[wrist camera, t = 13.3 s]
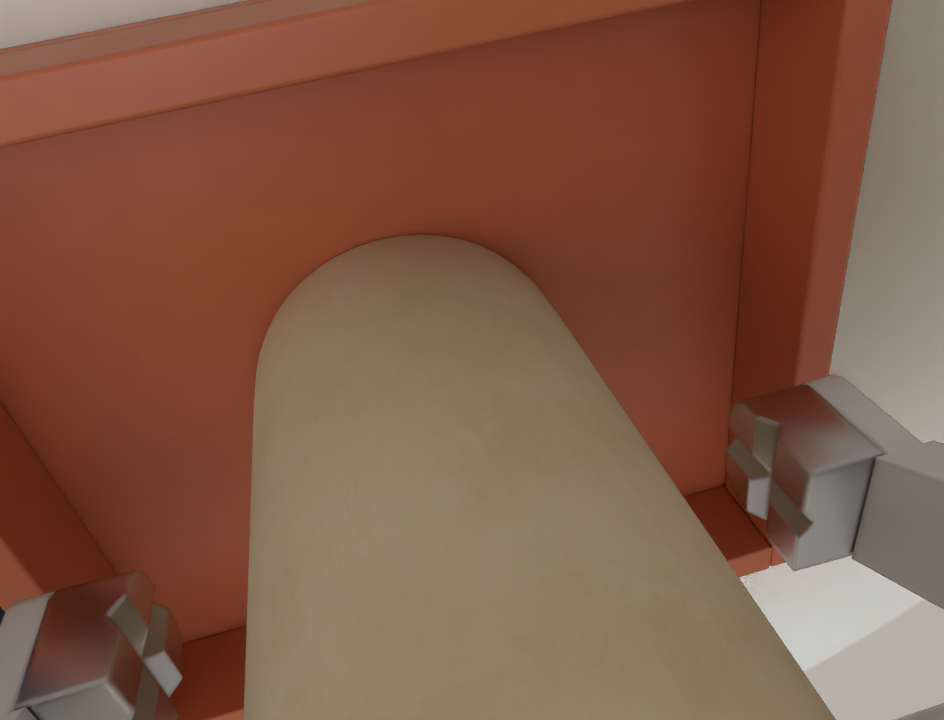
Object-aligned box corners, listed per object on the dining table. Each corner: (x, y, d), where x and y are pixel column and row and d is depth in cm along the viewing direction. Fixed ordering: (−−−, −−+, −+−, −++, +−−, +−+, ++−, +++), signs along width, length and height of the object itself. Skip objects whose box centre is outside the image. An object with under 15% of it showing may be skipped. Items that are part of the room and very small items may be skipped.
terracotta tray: (790, -108, 11) (913, -108, 9) (737, 483, 18) (798, 559, 16) (-241, 97, 9) (-389, 155, 7) (151, 655, 16) (133, 765, 14)
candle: (213, 450, 13) (116, 1391, 5) (325, 176, 11) (490, 1045, 3) (474, 507, 15) (706, 1207, 7) (609, 292, 13) (1166, 943, 5)
